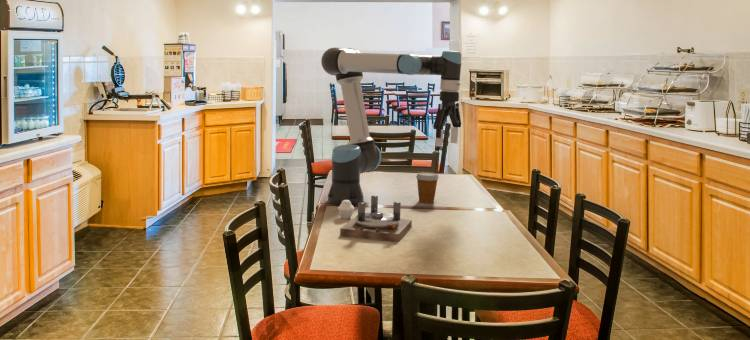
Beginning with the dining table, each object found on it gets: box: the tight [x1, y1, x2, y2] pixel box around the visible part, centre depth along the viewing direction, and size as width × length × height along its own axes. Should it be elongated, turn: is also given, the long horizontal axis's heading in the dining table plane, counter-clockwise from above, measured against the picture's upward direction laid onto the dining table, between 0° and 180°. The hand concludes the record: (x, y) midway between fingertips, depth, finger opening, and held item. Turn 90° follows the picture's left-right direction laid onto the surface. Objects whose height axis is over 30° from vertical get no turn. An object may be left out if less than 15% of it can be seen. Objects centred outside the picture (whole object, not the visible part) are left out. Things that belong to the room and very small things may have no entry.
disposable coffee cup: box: [415, 171, 439, 204], centre depth 254 cm, size 10×10×12 cm
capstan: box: [355, 195, 402, 229], centre depth 206 cm, size 16×15×8 cm
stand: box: [339, 216, 413, 243], centre depth 206 cm, size 20×20×3 cm
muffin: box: [337, 200, 355, 220], centre depth 224 cm, size 6×6×7 cm
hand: (446, 144), depth 239 cm, fingers open, 13 cm apart
